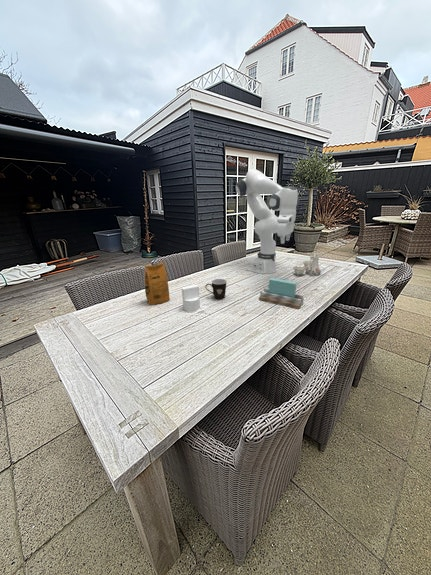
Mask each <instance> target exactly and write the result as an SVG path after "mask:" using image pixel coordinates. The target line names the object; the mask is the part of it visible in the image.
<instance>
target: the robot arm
mask: <svg viewBox="0 0 431 575" xmlns="http://www.w3.org/2000/svg"><path fill="white" fill-rule="evenodd" d="M235 191H236V193H237V195H238V196H239V197H245V196H246V202H247V204H248V207H249V209H250V211H251V212H252V214H253V216H254V218H256V219H257V220H258V221H256V222H255V224H254V227H253V228H254V233H255V234H256V235H257V236H258V238H259V241H260V246H259V247H260V251H259V252H258V253H257V254H256V255H257V256H256V257H255V258H254V259H253V260H251V261H250V263H249V266H247V267H246V271H248V272H251V273H252V272H253V273H257V274H261V275H263V274H264V275H265V274H273V273H276V272H277V269H276V259H277V258H276V257H277V256H276V247H277V246H276V245H277V243H276V240H274V237H273V234H277V237H279V238H280V244H285V241H287V242H289V241H290V237H291V235H292V233H293V232H294V229H295V221H296V216H297V207H298V206H299V204H300V196H299V193H298V189H297V187H295V186H290V185H288V186H282V185H281V184H279V183H277V182H276V181H274V180H272V179H271V178H269V177H268V176H266V175H265V174H264V173H263V172H262V171H261V170H258V169H256V168H251V169H250V170H248V171H247V172H246V175H245V177H244V178H242V179H240V180H239V181H237V182H236V184H235ZM261 195H271V196H270V197H269V199H268V204H266V202H265V200H264V198H263V197H262V196H261ZM268 206H269V207H268ZM272 211H279V214H278V216H277V215H276V214H275V213H274V212H272Z"/></svg>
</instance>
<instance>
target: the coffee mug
mask: <svg viewBox="0 0 431 575" xmlns="http://www.w3.org/2000/svg"><path fill="white" fill-rule="evenodd" d="M227 282H228V281H227V280H226V279H224V278H216V279H213V280H211V283H206V284H205V286H204V287H205V289H206V291H208V292H209V293H212V295H213V299H214V300H219V301H220V300H224V299H225V298H226V290H227V284H228V283H227ZM208 285H209V286H210V287H211V288H212V291H211V290H209V289H208V288H207V286H208Z"/></svg>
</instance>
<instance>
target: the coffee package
mask: <svg viewBox="0 0 431 575" xmlns="http://www.w3.org/2000/svg"><path fill="white" fill-rule="evenodd" d="M144 269H145V272H144V273H145V274H144V292H145V298H146V300H147V301H148V304H149V305H151V306H155V305H157V304H158V305H159V304H164V303H166V302H168V301H170V297H171V296H170V290H169V282H168V276H167V271H166V266H165V262H160V263H158V264H155V265H144Z"/></svg>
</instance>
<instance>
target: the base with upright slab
mask: <svg viewBox="0 0 431 575" xmlns="http://www.w3.org/2000/svg"><path fill="white" fill-rule="evenodd" d="M181 297H182V308H183V310H184V311H186V312H195V311H198V310H200V308H201V301H200V286H199V285H198V284H193V285H192V284H191V285H187V286H183V287H181Z"/></svg>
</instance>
